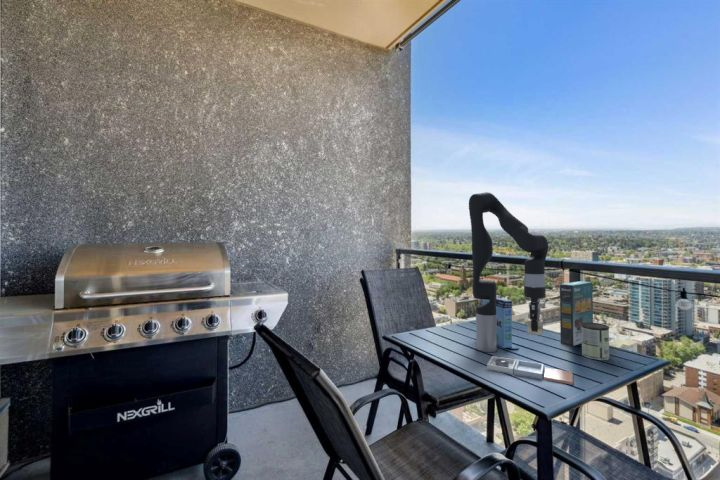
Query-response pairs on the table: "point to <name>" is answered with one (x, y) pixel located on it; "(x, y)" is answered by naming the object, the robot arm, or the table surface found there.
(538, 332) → the letter cube
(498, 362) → the grey domed disc
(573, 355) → the table surface
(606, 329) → the coffee can
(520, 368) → the middle tray
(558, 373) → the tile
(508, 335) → the gum box
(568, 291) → the cake mix box
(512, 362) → the near tray
